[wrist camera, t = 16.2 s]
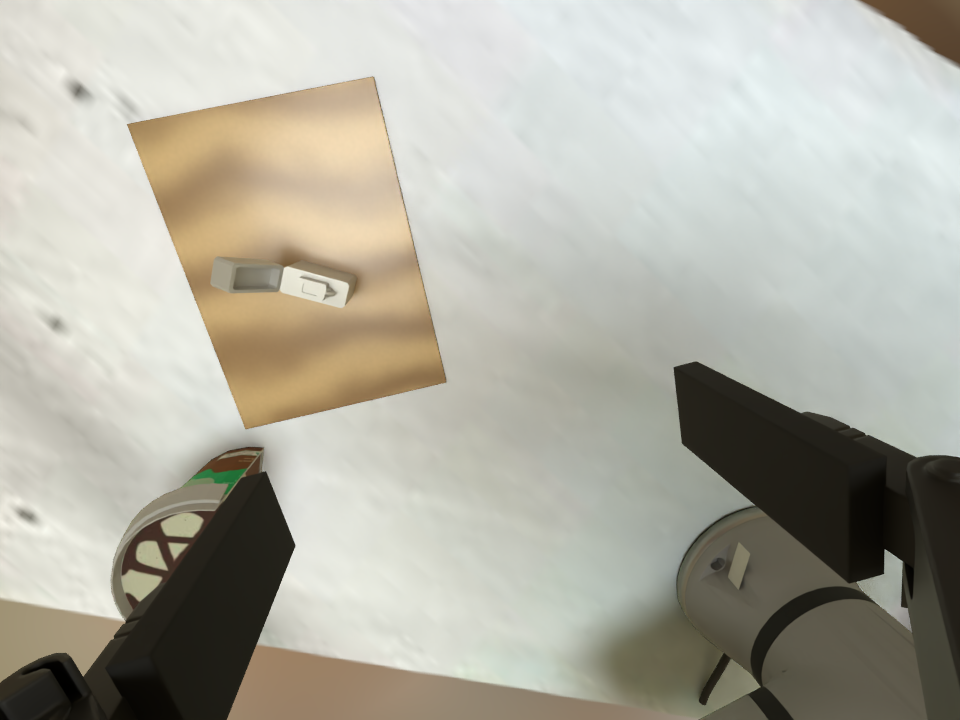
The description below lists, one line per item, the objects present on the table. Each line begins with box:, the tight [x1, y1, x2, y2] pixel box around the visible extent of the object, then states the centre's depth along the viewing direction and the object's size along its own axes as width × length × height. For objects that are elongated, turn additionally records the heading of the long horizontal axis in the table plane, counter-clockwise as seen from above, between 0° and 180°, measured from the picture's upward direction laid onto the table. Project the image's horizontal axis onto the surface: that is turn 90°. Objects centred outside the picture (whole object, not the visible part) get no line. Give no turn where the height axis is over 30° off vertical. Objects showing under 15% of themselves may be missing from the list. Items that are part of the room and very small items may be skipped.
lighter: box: [210, 256, 357, 308], centre depth 31 cm, size 7×2×8 cm, turn 73°
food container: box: [111, 447, 264, 621], centre depth 35 cm, size 12×6×10 cm, turn 168°
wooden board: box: [127, 77, 446, 429], centre depth 35 cm, size 22×16×1 cm
